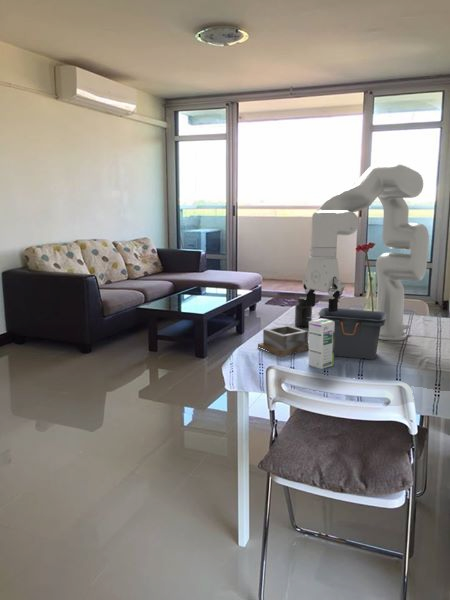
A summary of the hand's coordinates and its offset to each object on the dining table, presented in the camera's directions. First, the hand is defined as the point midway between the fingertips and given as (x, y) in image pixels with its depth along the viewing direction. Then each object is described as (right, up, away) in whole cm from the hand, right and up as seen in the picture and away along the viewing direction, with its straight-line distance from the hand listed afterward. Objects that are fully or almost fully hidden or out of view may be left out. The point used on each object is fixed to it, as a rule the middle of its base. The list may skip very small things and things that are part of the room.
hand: (321, 308), depth 153 cm
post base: (-8, -14, +22) cm, 28 cm away
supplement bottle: (+3, -8, +52) cm, 53 cm away
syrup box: (+1, -18, +4) cm, 19 cm away
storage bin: (+12, -16, +14) cm, 24 cm away
